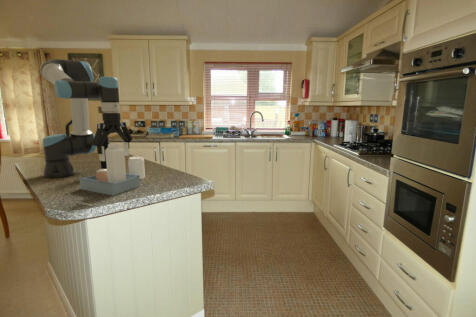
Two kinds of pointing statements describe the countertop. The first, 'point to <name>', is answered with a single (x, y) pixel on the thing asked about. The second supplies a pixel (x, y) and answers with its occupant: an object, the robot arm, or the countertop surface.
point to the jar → (101, 175)
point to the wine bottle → (105, 145)
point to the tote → (109, 184)
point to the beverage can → (136, 166)
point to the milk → (115, 163)
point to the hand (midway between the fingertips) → (115, 158)
